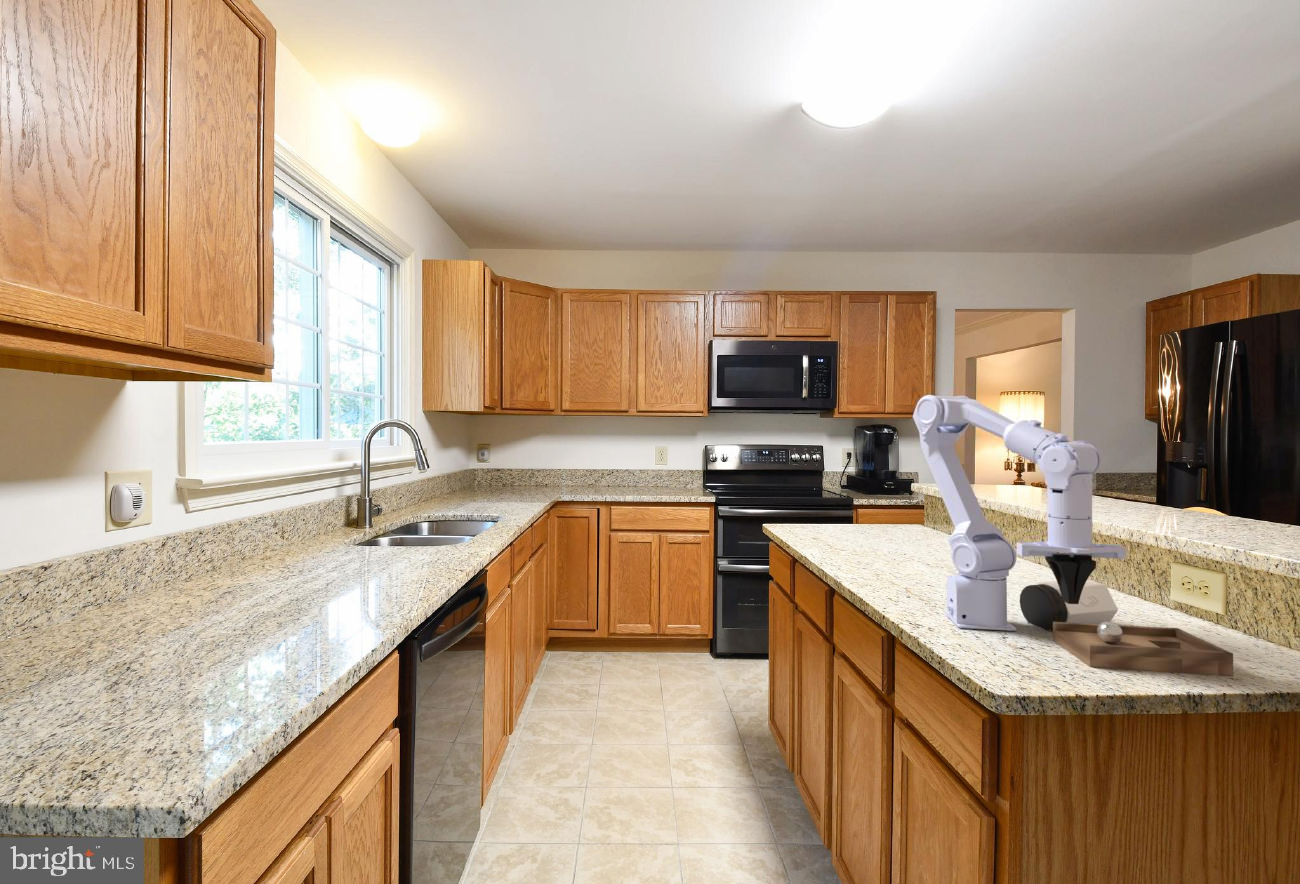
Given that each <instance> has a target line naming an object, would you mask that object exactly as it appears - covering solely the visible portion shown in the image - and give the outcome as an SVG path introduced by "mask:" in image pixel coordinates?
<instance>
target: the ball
mask: <svg viewBox="0 0 1300 884" xmlns="http://www.w3.org/2000/svg"><path fill="white" fill-rule="evenodd" d="M1118 625H1119V624H1117V623H1114V622H1112V621H1111V622H1103V623H1101V624H1099V625H1098V627H1097V634H1098V636H1099V637H1100V638H1101V639H1102V640H1103V641H1105V642H1108V643H1117V642H1119V641H1121V639H1122V638H1123V632H1122V630H1121V628H1120V627H1119V626H1118Z"/></svg>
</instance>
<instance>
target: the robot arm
mask: <svg viewBox="0 0 1300 884" xmlns="http://www.w3.org/2000/svg"><path fill="white" fill-rule="evenodd" d="M912 419H913V420H914V423H915V426H916V428H917V430H918V432H919V434H918V435H919V442H920V448H921V451H922V453H923V455H924V456H923V457H924V458H925V461H926V462H927V463H926V464H927V465H928V467H929V470H930V472H931V474H932V477H933V480H934V482H935V485H936V486H937V489H938V490H939V493H940V495H941V498H942V500H943V504H944V505H945V507H946V510H947V512H948V515H949V516H950V517H949V518H950V520H951V521H952V524H953V527H954V530H953V532H952V533H951V535H950V536H949V537H948V543H949V545H950V550H951V551H950V552H951V555H950V556H951V560H952V564H953V565H954V567H955V569H956V570H957V571H958V574H949V575H948V576H947V579H946V612H945V616H947V618H948V619H949V620H950V621H951V622H952V623H954V624H955V625H956V626H957V627H958V628H960V629H976V630H991V631H992V630H993V631H994V630H996V631H997V630H998V631H1011V632H1013V631H1014V632H1015V631H1017V627H1015V626H1014V625H1013V624H1012V623H1010V622H1009V621H1008V594H1007V593H1008V592H1007V591H1008V588H1007V586H1008V585H1007V581H1008V578H1007V577H1009V576H1010V571H1011V570H1012V569H1013V568H1014V567H1015V565H1016V563H1017V555H1018V556H1021V557H1023V558H1025V557H1026V558H1027V557H1044V558H1045V561H1046V563H1047V565H1048V566H1049V568H1050V569H1051V571H1052V573H1053V575H1054V577H1055V581H1057V583H1058V585H1059V589H1060V592H1061V596H1062V600H1063V601H1064V602H1066V603H1068V604H1079V600H1080V596H1081V593H1082V590H1083V587H1084V585H1085V583H1086V581H1087V579H1088V580H1089V578H1090V576H1091V574H1092V573H1093V571H1094V570H1095V569H1096V568H1097V561H1096V560H1094V558H1095V559H1096V558H1097V559H1098V558H1100V559H1117V560H1127V548H1126V546H1123V545H1120V544H1109V543H1108V544H1106V543H1105V544H1103V543H1093V541H1094V540H1093V475H1094V474H1095V473H1096V472H1097V471H1098V469H1099V468H1100V466H1101V455H1100V453H1099V451H1098V450H1097V448H1096V447H1095V446H1093V445H1092V444H1090V443H1089V442H1088V441H1086V440H1075V441H1070V440H1069V438H1068V435H1066V434H1065V433H1061V432H1060V433H1059V432H1058V433H1056V432H1053V431H1051V430H1049V429H1047V428H1045V427H1042V426H1041V425H1042V422H1040V421H1038V420H1036V419H1029V420H1028V419H1027V420H1025V419H1023V420H1020V421H1017V422H1016V421H1014V420H1012V419H1009V418H1008V417H1006V416H1004V415H1002V414H1000V413H999V412H996V410H993V409H991V408H990V407H987V406H986V405H984V404H982V403H980V402H979V401H978V400H977V399H974V398H969V397H968V396H966V395H957V396H956V395H955V396H954V395H953V396H950V395H949V396H948V395H947V396H946V395H945V396H944V395H943V396H942V395H932V394H927V395H924V396H922V397H921V398H920V399H919V400H918V401H917V403H916V406H915V409H914V412H913V415H912ZM970 425H972V426H974V427H976V428H978V429H979V430H980V429H981V430H983V431H985V432H987V433H989V434H992V435H994V436H997V437H998V438H1001V439H1003V441H1004V446H1005V448H1006V449H1008V450H1009V451H1011V452H1013V453H1015V454H1017V455H1019V456H1021V457H1022V458H1024V459H1026V460H1028V461H1029V462H1032V463H1034V464H1035V465H1037V466H1038V468H1039V470H1040V471H1041V473H1042V474H1043V477H1044V483H1045V485H1046V491H1047V493H1046V494H1047V495H1046V496H1047V497H1046V498H1047V501H1046V502H1047V504H1046V505H1047V511H1046V512H1047V515H1046V516H1047V541H1033V542H1032V541H1031V542H1016V550H1015V547H1014V546H1013V544H1012V543H1011V542H1010V541H1009V540H1008V539H1007V538H1005V536H1004V534H1003V532H1002V530H1001V529H1000V527H999V528H998V527H997V526H996V525H994V524H993V523H992V522H989V521H988V520H987V518H986V517H985V514H984V512H983V510H982V509H983V508H982V507H981V505H980V503H979V501H978V498H977V497H976V494H975V492H974V490H973V488H972V485H971V483H970V481H969V479H968V476H967V474H966V472H965V469H964V467H963V465H962V463H961V461H960V459H959V457H958V456H959V455H957V452H956V450H955V447H954V446H955V443H956V442H957V441H958V440H959V439H960V438H961V437H962V435H963V434H964V433H965V431H966V430H967V429H968V427H969V426H970Z"/></svg>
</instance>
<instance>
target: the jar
mask: <svg viewBox="0 0 1300 884" xmlns="http://www.w3.org/2000/svg"><path fill="white" fill-rule="evenodd" d="M1019 606H1020V607H1019V608H1020V611H1021V612H1022V615H1023V618H1024V619H1025V621H1027V623H1028V624H1030V625H1033V626H1035V627H1036V628H1037V627H1038V628H1039V629H1042V630H1045V631H1053V622H1067V623H1087V624H1101V623H1103V622H1112V621H1113V619H1114V617H1115V615H1116V614H1117V613H1118V611H1119V609H1118V607H1117V605H1116V603H1115V601H1114V599H1113V596H1112V595H1111V593H1110V590H1109V589H1108V587H1107V584H1105V583H1102V582H1098V581H1094V580H1091V579H1089V578H1088V579H1087V581H1086V583H1085V585H1084V587H1083V590H1082V593H1081V596H1080V600H1079V604H1068V603H1066V602H1064V601H1063V600H1062V596H1061V592H1060V589H1059V585H1058V583H1057V580H1051V581H1049V580H1048V581H1040V582H1038V583H1037V584H1029V585H1027V586H1025V587H1024V588H1023V589H1022V590H1021V592H1020V595H1019Z"/></svg>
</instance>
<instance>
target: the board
mask: <svg viewBox="0 0 1300 884" xmlns="http://www.w3.org/2000/svg"><path fill="white" fill-rule="evenodd" d="M1098 625H1099V624H1087V623H1067V622H1053V630H1052V641H1053V642H1054V643H1056V644H1057V645H1059V646H1060V647H1061V648H1062V649H1064V650H1066V651H1067V652H1068V653H1070V654H1071V655H1073V656H1074V657H1076V658H1077V659H1078V660H1079V661H1081V662H1082V663H1084V664H1086V665H1087V666H1088V667H1091V668H1101V669H1102V668H1103V669H1105V668H1106V669H1118V670H1119V669H1120V670H1132V671H1133V670H1134V671H1135V670H1136V671H1152V672H1163V673H1164V672H1166V673H1167V672H1168V673H1183V674H1195V673H1196V674H1197V675H1199V674H1200V675H1211V676H1212V675H1214V676H1230V677H1233V676H1234V653H1232V652H1230V651H1229V650H1226V649H1224V648H1222V647H1220V646H1217V645H1215V644H1212V643H1211V642H1209V641H1206V640H1204V639H1203V638H1200V637H1197V636H1195V635H1194V634H1192V633H1189V632H1187V631H1184V630H1182V629H1180V628H1178V627H1165V626H1164V627H1162V626H1160V627H1159V626H1143V625H1142V626H1141V625H1140V626H1139V625H1125V624H1124V625H1123V624H1122V625H1121V624H1117V625H1118V626H1119V627H1120V628H1121V630H1122V632H1123V638H1122V639H1121V641H1119V642H1117V643H1108V642H1105V641H1103V640H1102V639H1101V638H1100V637H1099V636H1098V634H1097V627H1098Z"/></svg>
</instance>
